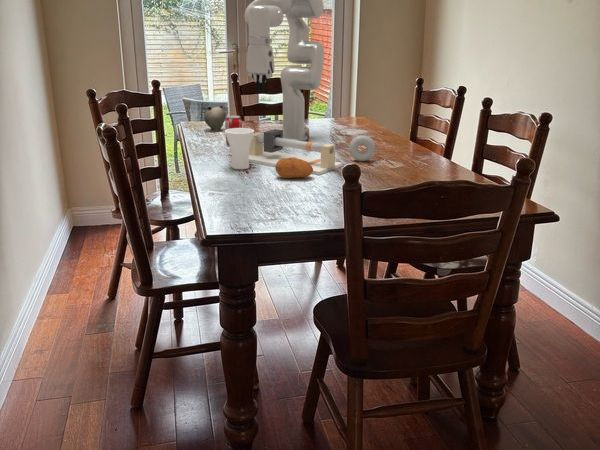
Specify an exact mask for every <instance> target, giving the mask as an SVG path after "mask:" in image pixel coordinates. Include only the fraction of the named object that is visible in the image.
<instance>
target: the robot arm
mask: <svg viewBox="0 0 600 450" xmlns="http://www.w3.org/2000/svg"><path fill="white" fill-rule="evenodd" d="M324 8H325V5H324V1H323V0H253V1H252V2H250V3H249V4H248V6H247V7H246V9H245V11H244V21H245V23H246V24H247V25H248V36H249V37H248V39H249V40H248V41H249V43H248V46H247V53H246V72H247V76H248V77H250V78H252V80H253V82H254V83H255V93H256V94H259V95H260V94H265V89H266V87H265V83H266V82H267V80H268V79H270V78H272V77H273V74H274V73H275V59H274V58H275V57H274V51H273V46H271V43H272V42H273V40H272V39H271V29H270V28H277V27H279V26H280V25H281V24H282V23H283V20H284V16H285V18H286V21H287V24H288V27H289V35H288V42H287V51H286V57H287V61H288V62H289V63H290V64H294V65H289V66H285V67H284V68H283V69H282V70H281V72H280V83H281V91H282V130H283V138H285V139H291V140H298V141H304V142H307V141H308V139H309V138H308V136H307V135H306V133H309V132H310V129H309V128H308V127H307V128H305V105H306V104H305V96H304V95H303V93H302V91H301V90H305V91H307V90H311V91H313V90H318V89H319V88H320V86H321V82H322V78H323V77H322V76H323V69H324V68H323V67H324V62H325V61H324V59H325V50H324V49H325V48H324V45H323V44H322V43H321V42H319V41H312V40H309V39H310V38H309V37H310V28H309V26H308V25H307V23H306V22H305V20H304V18H305V19H307V18H308V19H317V18H320V17H321V16H322V15H323V13H324ZM295 64H297V65H295ZM302 65H310V66H302Z"/></svg>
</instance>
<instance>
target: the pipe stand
mask: <svg viewBox="0 0 600 450" xmlns="http://www.w3.org/2000/svg"><path fill="white" fill-rule="evenodd" d="M274 145H277V146H283V148H290V149H291V148H292V149H296V150H302V151H306V152H311V153H313V152H314V153H320V158H315V157H310V156H304V155H298V154H294V153H293V154H292V153H287V152H280V151H276V152H272V153H270V152H264V133H260V132H254V134H253V137H252V141H251V145H250V150H249V163H253V164H256V165H257V164H258V165H262V166H263V165H264V166H268V167H272V168H276V167H275V166H276V164H277V162H278V161H279V160H281V159H284V158H291V157H295V158H298V159H301V160H304V161H307V162H308V163H310V165H311V166H312V168H313V172H312V174H311V175H316V176H321V175H324V174H325V173H328V172H331V171H333V170H336V169H338V168H342V167H343V164H344V163H343V162H339V161H336V144H333V143H325V144H322V143H316V142H313V141H298V140H291V139H285V138H278V137H274V136H273V146H274Z"/></svg>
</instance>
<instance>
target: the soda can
mask: <svg viewBox="0 0 600 450" xmlns="http://www.w3.org/2000/svg"><path fill="white" fill-rule="evenodd" d="M224 123H225V126H224V127H225V130H227V129H232V128H243V121H242V118H241V116H240V115H235V114H234V115H233V114H231V115H226V118H225V120H224ZM225 130H224V131H225ZM225 142H226V145H228V146H230V145H229V142H228V139H227V136H226V135H225Z"/></svg>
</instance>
